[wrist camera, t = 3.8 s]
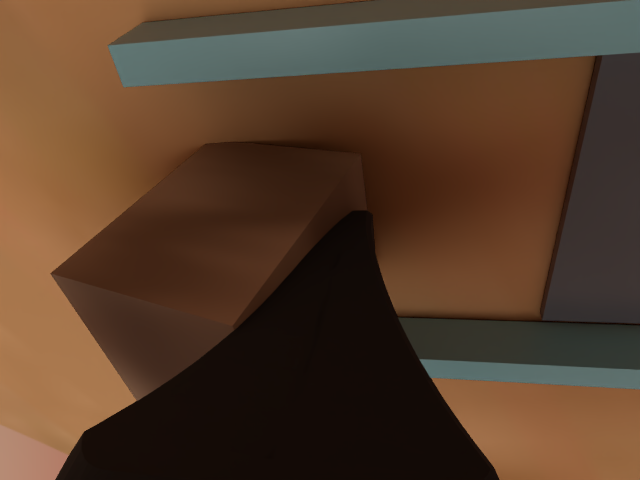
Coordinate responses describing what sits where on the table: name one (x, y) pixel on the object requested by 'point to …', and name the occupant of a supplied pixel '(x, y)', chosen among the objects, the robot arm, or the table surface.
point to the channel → (456, 49)
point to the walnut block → (204, 252)
